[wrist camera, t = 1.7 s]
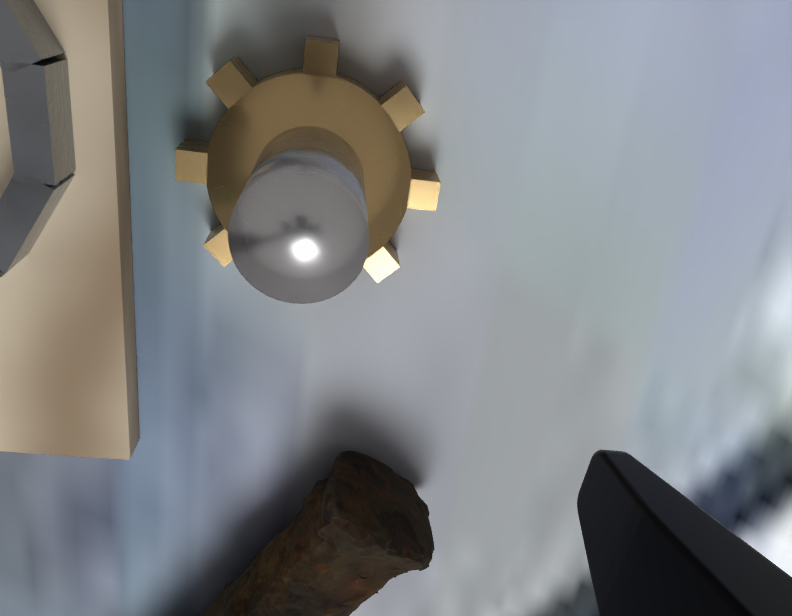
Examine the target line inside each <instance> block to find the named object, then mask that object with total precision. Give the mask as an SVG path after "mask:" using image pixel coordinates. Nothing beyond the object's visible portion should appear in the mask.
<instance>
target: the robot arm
mask: <svg viewBox="0 0 792 616" xmlns="http://www.w3.org/2000/svg"><path fill="white" fill-rule="evenodd" d="M577 508H578V515H579V520H580V525H581V530H582V535H583V539H584V544H585V549H586V554H587V559H588V564H589V569H590V574H591V579H592V584H593V589H594V594H595V599H596V603H597V607H598V611H599V616H792V577H791V576H789V575H788V574H787V573H785V572H784V571H783V570H781V569H780V568H779V567H777V566H776V565H775V564H774V563H772V562H771V561H770V560H768V559H767V558H766V557H764V556H763V555H762V554H760V553H759V552H758V551H756V550H755V549H754V548H752V547H751V546H750V545H748V544H747V543H746V542H744V541H743V540H742V539H741V538H739V537H738V536H737V535H735V534H734V533H733V532H731V531H730V530H729V529H727V528H726V527H725V526H723V525H722V524H721V523H719V522H718V521H717V520H715V519H714V518H713V517H711V516H710V515H709V514H708V513H706V512H705V511H704V510H702V509H701V508H700V507H698V506H697V505H696V504H694V503H693V502H692V501H690V500H689V499H688V498H686V497H685V496H684V495H682V494H681V493H680V492H679V491H677V490H676V489H675V488H673V487H672V486H671V485H669V484H668V483H667V482H665V481H664V480H663V479H661V478H660V477H659V476H657V475H656V474H655V473H653V472H652V471H651V470H649V469H648V468H647V467H646V466H644V465H643V464H642V463H640V462H639V461H638V460H636V459H635V458H634V457H632V456H631V455H630V454H628V453H626V452H622V451H611V450H599V451H597V452H595V453H594V455H593V456H592V458H591V461H590V464H589V466H588V469H587V472H586V475H585V477H584V480H583V483H582V486H581V488H580V491H579V494H578V501H577Z"/></svg>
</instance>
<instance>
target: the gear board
mask: <svg viewBox="0 0 792 616" xmlns="http://www.w3.org/2000/svg"><path fill="white" fill-rule="evenodd" d="M139 439H140V436H139V411H138V385H137V360H136V335H135V310H134V285H133V260H132V235H131V209H130V184H129V159H128V134H127V109H126V84H125V59H124V33H123V8H122V0H0V451H5V452H20V453H35V454H50V455H65V456H80V457H95V458H110V459H125V460H130V459H131V457H132V455H133V452H134V450H135V448H136V446H137V443H138V441H139Z"/></svg>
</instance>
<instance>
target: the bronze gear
mask: <svg viewBox="0 0 792 616" xmlns="http://www.w3.org/2000/svg"><path fill="white" fill-rule="evenodd" d="M339 41H340V40H334V39H327V38H321V37H314V36H307V38H306V39H305V51H304V64H303V69H292V70H287V71H282V72H279V73H276V74H273V75H270V76H267V77H266V78H264V79H262V80H260V81H257V80H256V79H255V78H254V76H253V75H252V74H251V73H250V71H249V70H248V69H247V68H246V66H245V65H244V64H243V63H242V62H241V60H240V59H239V58H238V57H237V56H235V57H234V58H233V59H231V60H230V61H229V62H228V63H227V64H225V65H224V66H223V67H222V68H221V69H220V70H218V71H217V72H216V73H215V74H214V75H213V76H212V77H210V78H209V79H208V80H207V81H206V83H207V84H208V86H209V87H210V88H211V89H212V90H213V91H214V93H215V94H216V95H217V96H218V97H219V98H220V100H221V101H222V102H223V103H224V104H225V106H226V107H227V108H228V109H227V111H226V112H225V113H224V115H223V116H222V117H221V119H220V121H219V122H218V124H217V126H216V128H215V130H214V132H213V135H212V137H211V140H210V143H206V142H198V141H191V140H184V141H183V142H182V143H181V144H180V145H179V146H178V147H177V148H176V149H175V180H178V181H186V182H195V183H203V184H207V188H208V193H209V197H210V200H211V203H212V206H213V209H214V211H215V213H216V215H217V217H218V219H219V221H220V222H221V224H220V225H218V226H217V227H216V228H215V229H213V230H212V231H211V232H210V234H209V236H208V237H207V239H206V241H205V243H204V245H203V246H204V247H205V248H206V249H207V250H208V251H209V252H210V253H211V254H212V255H213V256H214V257H215V258H216V259H217V260H218V261H219V262H220V263H221V264H222V266H223V267H224V266H226V265H227V264H228V263H230V262H231V261H232V260H233V261H234V263H235V265H236V267H237V269H238V270H239V272H240V273H241V275H242V276H243V277H244V278H245V279H246V280H247V281H248V282H249V283H250V284H251V285H252V286H253V287H254V288H256V289H257V290H259V291H260V292H262V293H264V294H265V295H267V296H269V297H272V298H274V299H277V300H280V301H284V302H289V303H299V304H305V303H314V302H319V301H323V300H326V299H329V298H331V297H333V296H335V295H337V294H339V293H340V292H342V291H343V290H345V289H346V288H347V287H348V286H349V285H350V284H351V283H352V282H353V281H354V280H355V279H356V278H357V276H358V275H359V273H360V272H361V270H362V268H363V267H364V268H365V269H366V270H367V271H368V273H369V274H370V275H371V276H372V277H373V278H374V280H375V281H376V282H377V283H378V282H379V281H381V280H382V279H384V278H385V277H386V276H388V275H389V274H391V273H392V272H393V271H395V270H396V269H398V268H399V267H400V265H399V259H398V253H397V251H396V250H395V249H394V248H393V247H392V245H391V244H390V243H389V242H388V241H389V239H390V238H391V237H392V235H393V234H394V233H395V231H396V230H397V228H398V227H399V225H400V223H401V221H402V219H403V217H404V214H405V212H406V209H407V208H412V209H420V210H429V211H436V206H437V201H438V195H439V190H440V184H441V182H440V180H439V178H438V175H437V173H436V172H434V171H426V170H418V169H411V165H410V159H409V154H408V151H407V148H406V145H405V142H404V139H403V136H402V133H401V130H403V129H404V128H405V127H406V126H408V125H409V124H410V123H412V122H413V121H414V120H416V119H417V118H418V117H419V116H421V115H422V114H423V113H425V112H424V110H423V108H422V106H421V105H420V103H419V102H418V100H417V99H416V97H415V96H414V95H413V93H412V92H411V90H410V89H409V88H408V86H407V85H406V83H405V82H404V80H402V81H401V82H399V83H398V84H397V85H395V86H394V87H393V88H392V89H390V90H389V91H388V92H387V93H385V94H384V95H383V96H382V97H380V98H378V97H377V96H376V95H375V94H373V93H372V92H371V91H370V90H369V89H367V88H366V87H364V86H363V85H361V84H360V83H358V82H356V81H354V80H353V79H351V78H349V77H346V76H344V75H341V74H338V73H336V71H337V61H338V51H339Z"/></svg>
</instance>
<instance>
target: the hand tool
mask: <svg viewBox="0 0 792 616" xmlns="http://www.w3.org/2000/svg"><path fill="white" fill-rule="evenodd" d="M428 517H429V510H428V507H427V505H426V504H425V503H424V502H423V500H422V499H421V498H420V497H419V496H418V494H417V492H416V490H415V488H414V486H413V484H411V483H410V482H409V481H408V480H406V479H404V478H402V477H400V476H399V475H397V474H395V473H394V472H393V471H392V470H391V469H390V468H389V467H387V466H386V465H384V464H382V463H381V462H379V461H377V460H375V459H373V458H371V457H369V456H366V455H362V454H360V453H357V452H355V451H345V452H341V453H340V454H339V456H338V457H337V459H336V460H335V464H334V466H333V476H331V477H330V478H329V479H326V480H322V481H318V482H317V483H316V485H315V487H314V488H313V492H312V493H311V494H310V495H309V496H308V497H307V498H306V499H305V502H304V509H303V510H302V511H301V512H300V513H299V514H298V515H297V516H296V517H295V519H294V520H293V521H292V522H291V523H290V524H289V525H288V526H287V527H286V528H285V529H284V530H283V531H282V532H281V533H279V534H278V535H277V536H276V537H274V538H273V539H272V540H271V541H270V542H269V543H268V544H267V545H266V547H265V548H264V549H263V550H262V551H261V552H259V553H258V554H257V556H256V557H255V559H254V560H253V562H252V563H251V565H250V566H249V567H248V568H247V569H246V570H245V571H244V573H243V574H241V575H240V576H239V577H238V578H237V579H236V580H235V581H234V582H230V583H227V584H226V587H225V589H224V591H223V592H222V593H221V594H220V595H219V597H218V598H217V599H216V600H215V601H214V602H213V603H212V604H211V606H210V607H208V608H207V609H206V610H205V611H204V612H203V613H202V614H201V616H349V615H350V614H351V613H352V612H353V611H355V610H356V609H357V608H358V607H359V605H360V604H361V603H363V602H364V601H366V600H367V599H368V598H370V597H371V596H372V595H374V594H375V593H378V590H380V589H382V588H383V587H384V585H385V584H386V583H387V582H388V581H389V580H390V579H391V578H393V577H396V576H397V575H400V574H403V573H407V572H408V571H410V570H418V569H419V571H421V570H424V569H426V568H427V567H429V563H430V561H431V559H432V553H433V551H434V542H433V536H432V530H431V526H430V522H429V518H428Z"/></svg>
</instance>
